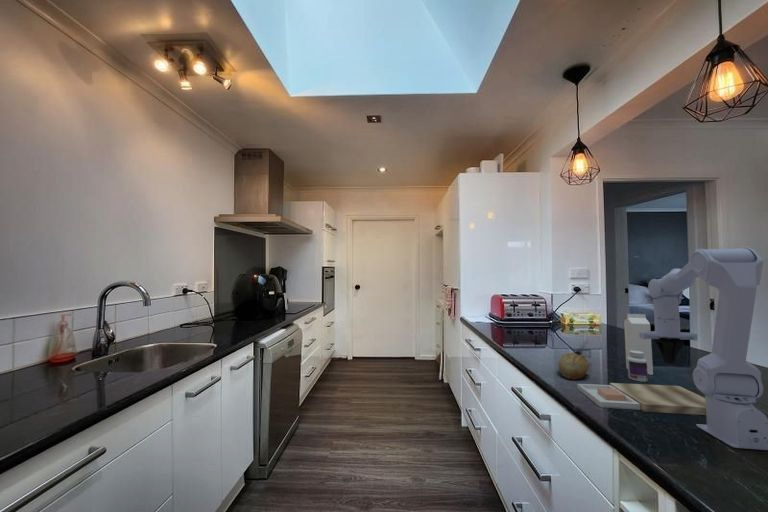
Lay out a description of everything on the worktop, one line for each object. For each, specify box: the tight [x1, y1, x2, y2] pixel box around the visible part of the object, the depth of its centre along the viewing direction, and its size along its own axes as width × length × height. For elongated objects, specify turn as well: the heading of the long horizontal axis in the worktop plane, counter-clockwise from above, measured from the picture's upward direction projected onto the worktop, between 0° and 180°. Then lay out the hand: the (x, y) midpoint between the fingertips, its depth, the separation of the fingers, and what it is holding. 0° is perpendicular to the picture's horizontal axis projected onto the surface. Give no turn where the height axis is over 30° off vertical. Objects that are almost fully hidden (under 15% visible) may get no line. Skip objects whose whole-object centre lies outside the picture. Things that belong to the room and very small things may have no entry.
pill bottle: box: [627, 351, 649, 383], centre depth 107 cm, size 5×5×10 cm
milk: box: [623, 313, 654, 376], centre depth 115 cm, size 6×6×22 cm
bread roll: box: [557, 352, 590, 381], centre depth 112 cm, size 10×15×8 cm, turn 142°
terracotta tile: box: [597, 388, 625, 401], centre depth 91 cm, size 5×5×2 cm
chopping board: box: [609, 382, 706, 416], centre depth 89 cm, size 20×16×2 cm
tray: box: [576, 383, 641, 411], centre depth 91 cm, size 10×14×2 cm
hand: (669, 363), depth 91 cm, fingers closed
